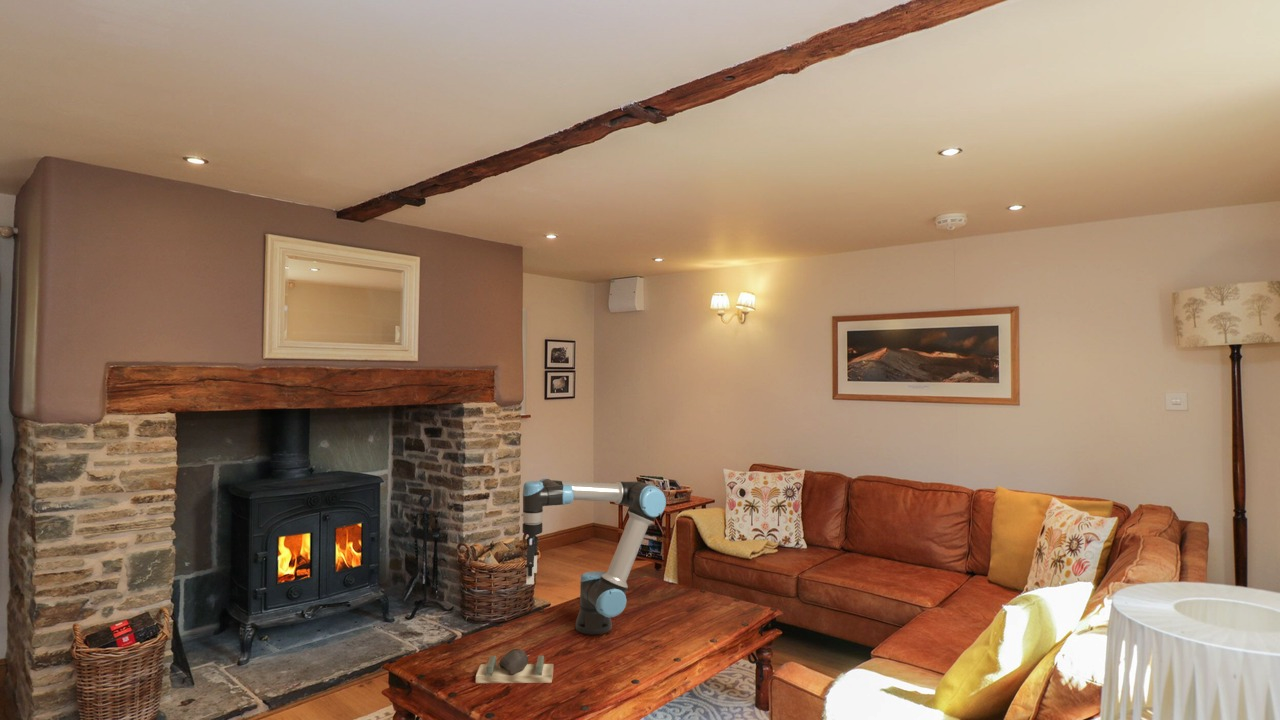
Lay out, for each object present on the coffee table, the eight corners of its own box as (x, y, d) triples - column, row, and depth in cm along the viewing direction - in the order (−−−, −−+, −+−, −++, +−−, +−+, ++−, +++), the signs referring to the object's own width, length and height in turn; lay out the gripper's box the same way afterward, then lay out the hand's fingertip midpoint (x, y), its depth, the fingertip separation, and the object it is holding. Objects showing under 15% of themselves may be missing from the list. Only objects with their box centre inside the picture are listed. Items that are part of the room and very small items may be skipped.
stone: (497, 683, 237) (509, 670, 232) (493, 659, 242) (505, 646, 237) (522, 680, 243) (535, 667, 237) (517, 657, 248) (530, 644, 243)
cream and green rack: (553, 670, 245) (553, 655, 245) (551, 682, 236) (551, 666, 236) (480, 671, 243) (480, 655, 243) (475, 683, 234) (476, 667, 234)
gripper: (525, 515, 272) (525, 568, 272) (519, 530, 247) (518, 589, 247) (544, 515, 272) (544, 568, 272) (539, 530, 247) (539, 589, 247)
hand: (531, 578), depth 259 cm, fingers open, 13 cm apart
